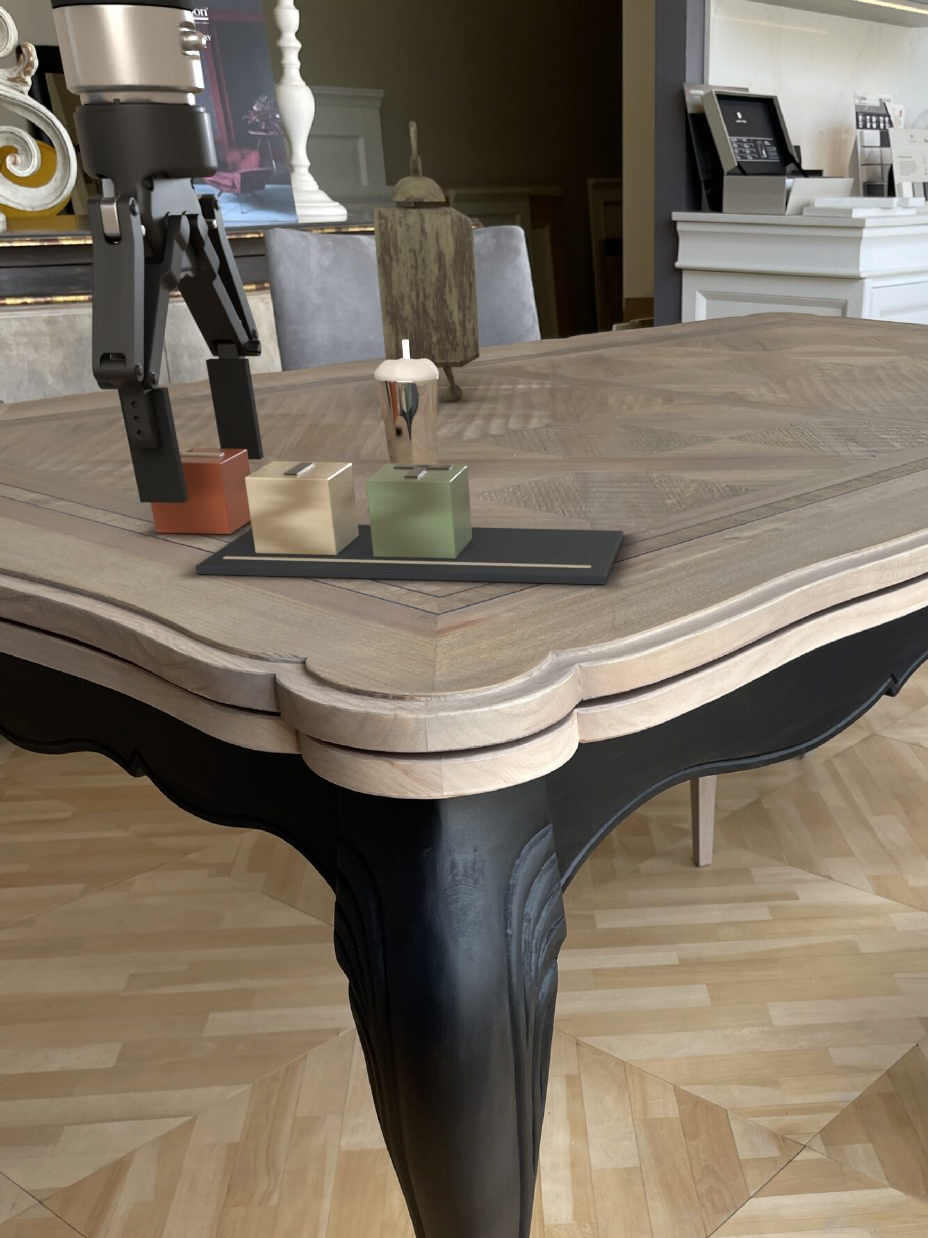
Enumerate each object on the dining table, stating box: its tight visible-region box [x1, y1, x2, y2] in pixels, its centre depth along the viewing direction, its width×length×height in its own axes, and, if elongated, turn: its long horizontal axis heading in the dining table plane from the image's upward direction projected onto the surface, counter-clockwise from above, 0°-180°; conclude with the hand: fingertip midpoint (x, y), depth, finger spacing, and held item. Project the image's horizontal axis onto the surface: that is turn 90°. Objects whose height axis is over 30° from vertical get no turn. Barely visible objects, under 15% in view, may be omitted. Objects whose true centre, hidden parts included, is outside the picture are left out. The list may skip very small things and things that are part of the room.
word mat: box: [195, 524, 624, 586], centre depth 80 cm, size 24×11×1 cm, turn 86°
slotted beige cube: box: [245, 460, 359, 555], centre depth 80 cm, size 5×5×5 cm
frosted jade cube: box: [365, 462, 473, 559], centre depth 79 cm, size 5×5×5 cm
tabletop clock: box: [373, 120, 480, 402], centre depth 129 cm, size 14×9×25 cm, turn 9°
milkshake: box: [373, 340, 440, 464], centre depth 95 cm, size 4×5×10 cm
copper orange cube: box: [150, 447, 251, 535], centre depth 86 cm, size 5×5×5 cm
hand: (206, 479), depth 86 cm, fingers open, 13 cm apart
